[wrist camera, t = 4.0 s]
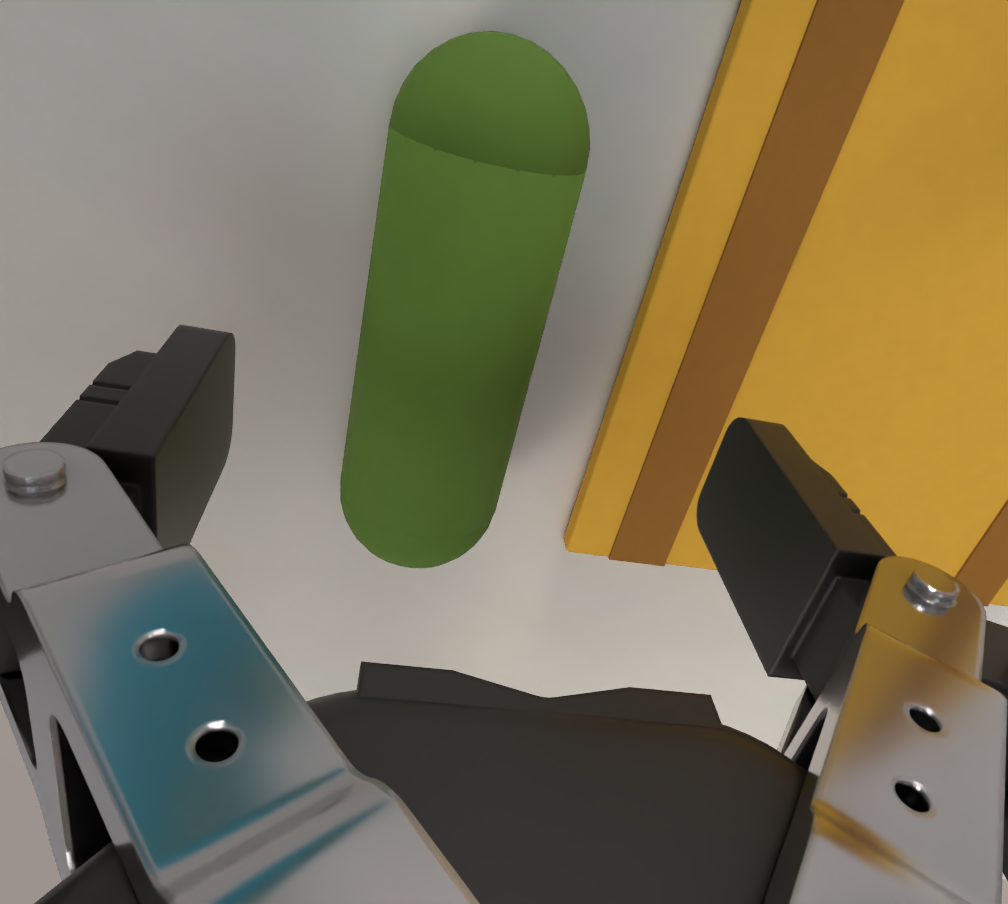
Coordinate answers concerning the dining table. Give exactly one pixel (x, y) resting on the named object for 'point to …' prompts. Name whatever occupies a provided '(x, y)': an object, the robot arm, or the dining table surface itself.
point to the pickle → (458, 290)
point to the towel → (831, 287)
